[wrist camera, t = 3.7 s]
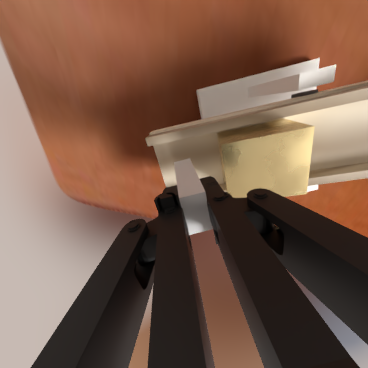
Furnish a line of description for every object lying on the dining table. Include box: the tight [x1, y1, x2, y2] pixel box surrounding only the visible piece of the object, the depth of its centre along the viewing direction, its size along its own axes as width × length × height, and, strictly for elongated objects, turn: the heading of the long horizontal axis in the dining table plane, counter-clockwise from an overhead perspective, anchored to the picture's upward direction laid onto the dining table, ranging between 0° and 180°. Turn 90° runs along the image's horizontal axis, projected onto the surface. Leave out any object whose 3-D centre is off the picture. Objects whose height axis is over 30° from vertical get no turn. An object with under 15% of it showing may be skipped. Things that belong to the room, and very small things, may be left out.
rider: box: [217, 119, 315, 198], centre depth 14 cm, size 5×6×4 cm
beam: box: [145, 80, 368, 192], centre depth 16 cm, size 8×30×6 cm, turn 103°
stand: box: [196, 58, 336, 192], centre depth 20 cm, size 14×16×10 cm
